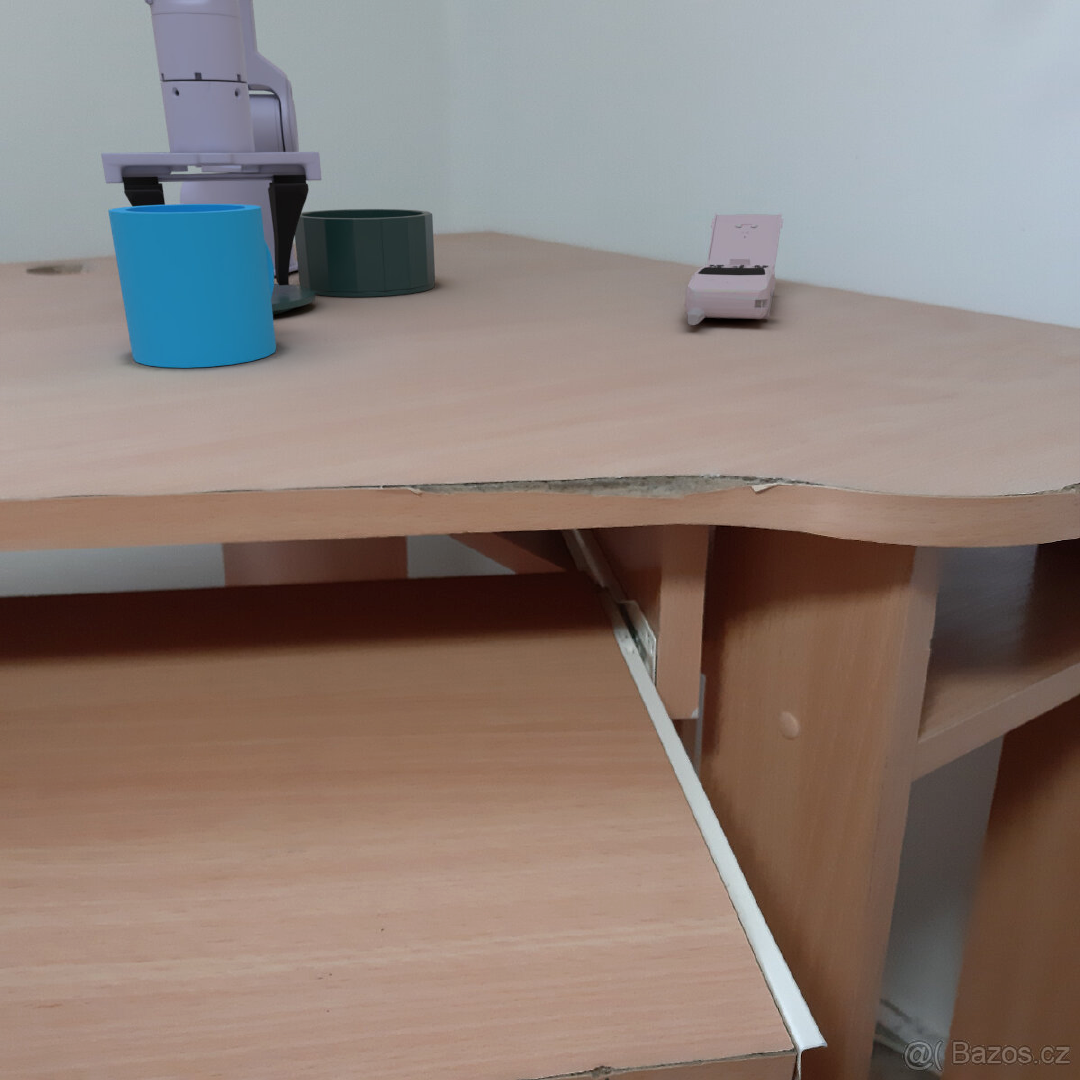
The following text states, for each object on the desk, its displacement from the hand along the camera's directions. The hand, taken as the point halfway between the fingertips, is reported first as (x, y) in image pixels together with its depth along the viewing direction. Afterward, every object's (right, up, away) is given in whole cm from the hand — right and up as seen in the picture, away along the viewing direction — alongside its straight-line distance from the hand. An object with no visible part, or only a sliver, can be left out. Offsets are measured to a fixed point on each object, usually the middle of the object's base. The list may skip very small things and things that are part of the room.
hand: (229, 286), depth 71 cm
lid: (0, -1, 0) cm, 1 cm away
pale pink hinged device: (+38, -1, +3) cm, 38 cm away
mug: (+4, -7, -12) cm, 14 cm away
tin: (+8, +3, +11) cm, 14 cm away
